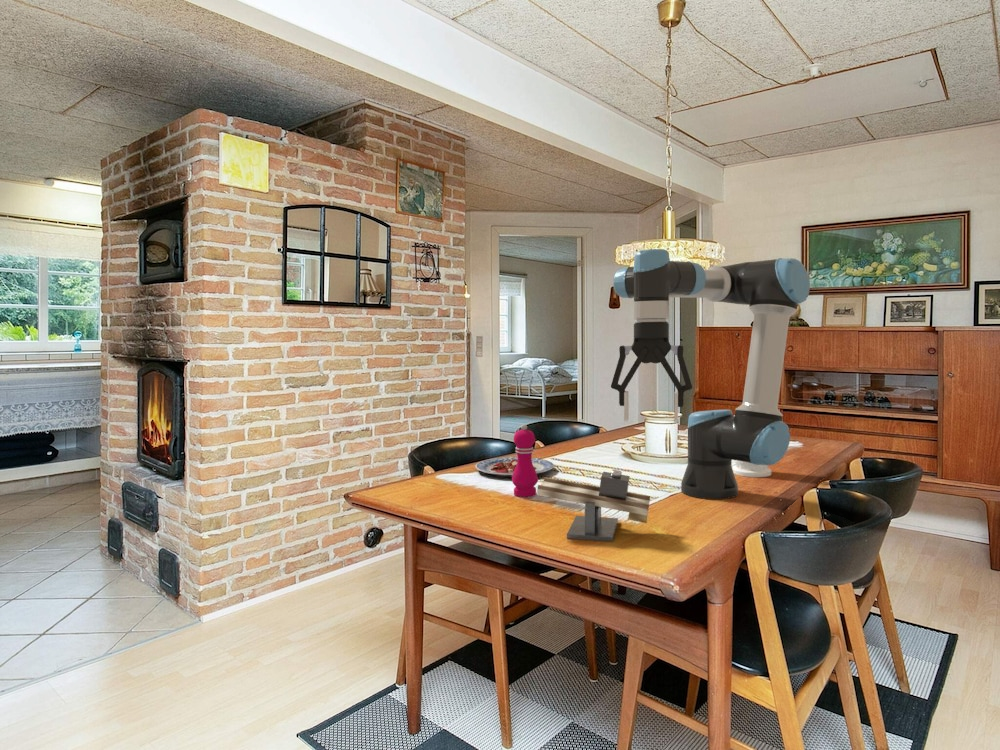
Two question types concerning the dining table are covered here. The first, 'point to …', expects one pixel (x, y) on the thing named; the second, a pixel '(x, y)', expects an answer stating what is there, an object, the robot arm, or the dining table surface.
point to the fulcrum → (593, 525)
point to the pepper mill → (524, 464)
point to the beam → (595, 497)
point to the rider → (614, 485)
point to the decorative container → (750, 469)
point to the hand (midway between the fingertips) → (650, 421)
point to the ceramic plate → (510, 466)
